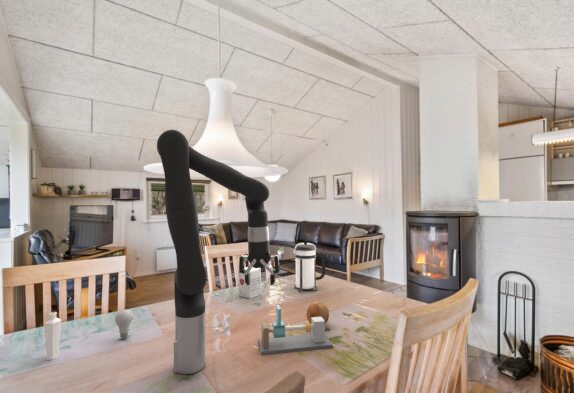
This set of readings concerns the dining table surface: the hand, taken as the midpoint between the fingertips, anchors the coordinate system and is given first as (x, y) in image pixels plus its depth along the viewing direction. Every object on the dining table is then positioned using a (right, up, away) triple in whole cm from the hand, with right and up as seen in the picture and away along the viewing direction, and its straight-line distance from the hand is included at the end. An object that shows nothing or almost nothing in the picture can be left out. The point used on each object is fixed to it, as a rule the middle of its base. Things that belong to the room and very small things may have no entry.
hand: (260, 284), depth 105 cm
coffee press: (+22, -25, +73) cm, 80 cm away
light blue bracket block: (+7, -20, +3) cm, 21 cm away
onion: (+23, -24, +20) cm, 39 cm away
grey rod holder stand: (+12, -23, +4) cm, 27 cm away
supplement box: (-11, -25, +61) cm, 67 cm away
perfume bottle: (-70, -24, -4) cm, 74 cm away
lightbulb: (-54, -24, +9) cm, 59 cm away
